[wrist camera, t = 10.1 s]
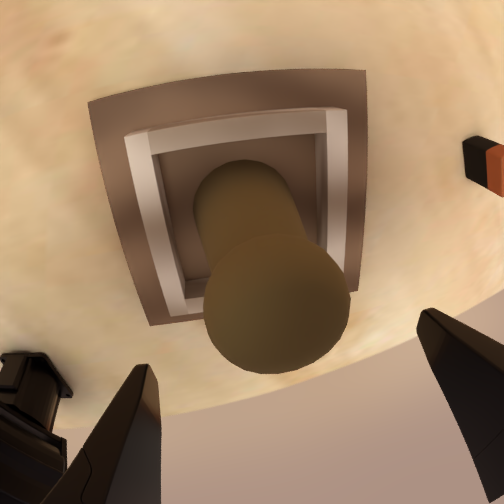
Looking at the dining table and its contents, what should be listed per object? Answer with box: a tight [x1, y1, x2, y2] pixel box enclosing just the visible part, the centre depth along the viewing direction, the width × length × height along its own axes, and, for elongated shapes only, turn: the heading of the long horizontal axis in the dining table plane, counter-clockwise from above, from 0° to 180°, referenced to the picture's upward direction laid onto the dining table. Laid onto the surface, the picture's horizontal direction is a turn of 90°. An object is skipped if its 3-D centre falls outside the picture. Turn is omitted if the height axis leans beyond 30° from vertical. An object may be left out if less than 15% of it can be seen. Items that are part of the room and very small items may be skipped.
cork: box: [193, 159, 351, 374], centre depth 15 cm, size 6×6×11 cm
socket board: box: [88, 69, 368, 326], centre depth 19 cm, size 16×16×3 cm
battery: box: [463, 136, 504, 197], centre depth 19 cm, size 2×3×5 cm, turn 22°
